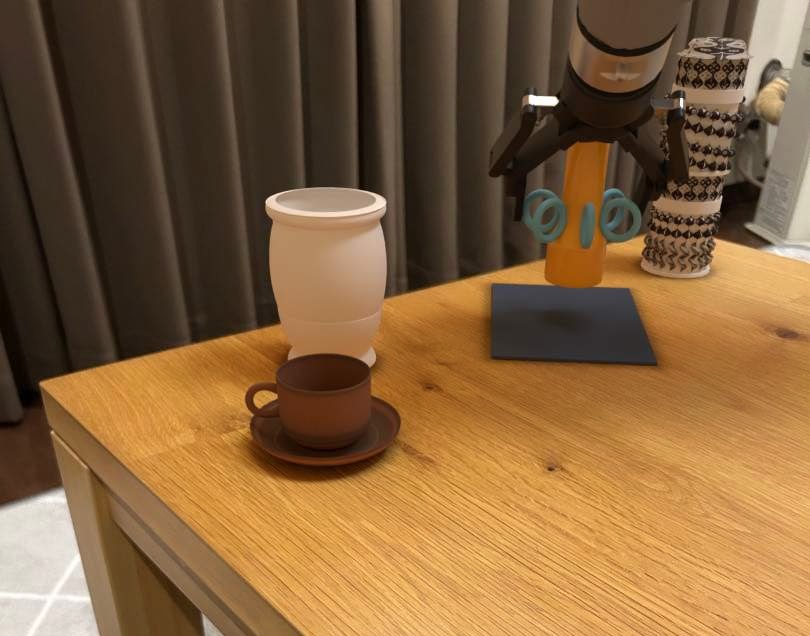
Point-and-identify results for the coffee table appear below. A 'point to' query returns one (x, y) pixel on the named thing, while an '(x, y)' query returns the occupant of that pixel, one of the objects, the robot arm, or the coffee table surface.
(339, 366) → the cup and saucer
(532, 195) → the cylinder
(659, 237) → the decorative candle
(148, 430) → the coffee table surface
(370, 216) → the jar
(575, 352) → the dark grey flat rectangle
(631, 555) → the coffee table surface
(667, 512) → the coffee table surface
